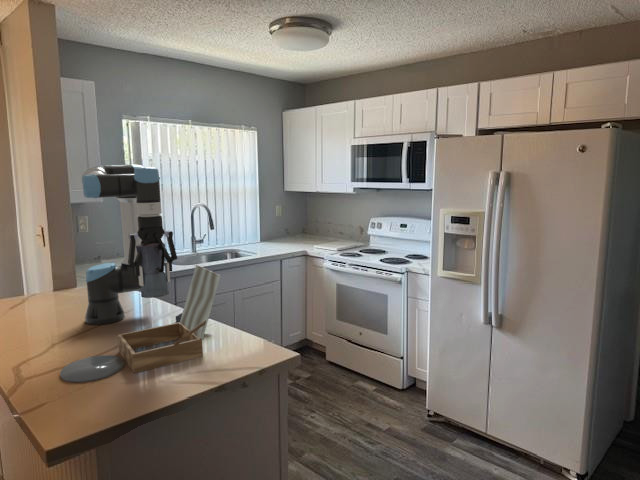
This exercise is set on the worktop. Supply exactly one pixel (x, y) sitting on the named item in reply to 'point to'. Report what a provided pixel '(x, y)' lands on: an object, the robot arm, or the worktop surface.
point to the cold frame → (174, 329)
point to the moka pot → (153, 270)
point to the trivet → (91, 368)
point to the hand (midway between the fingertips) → (154, 283)
